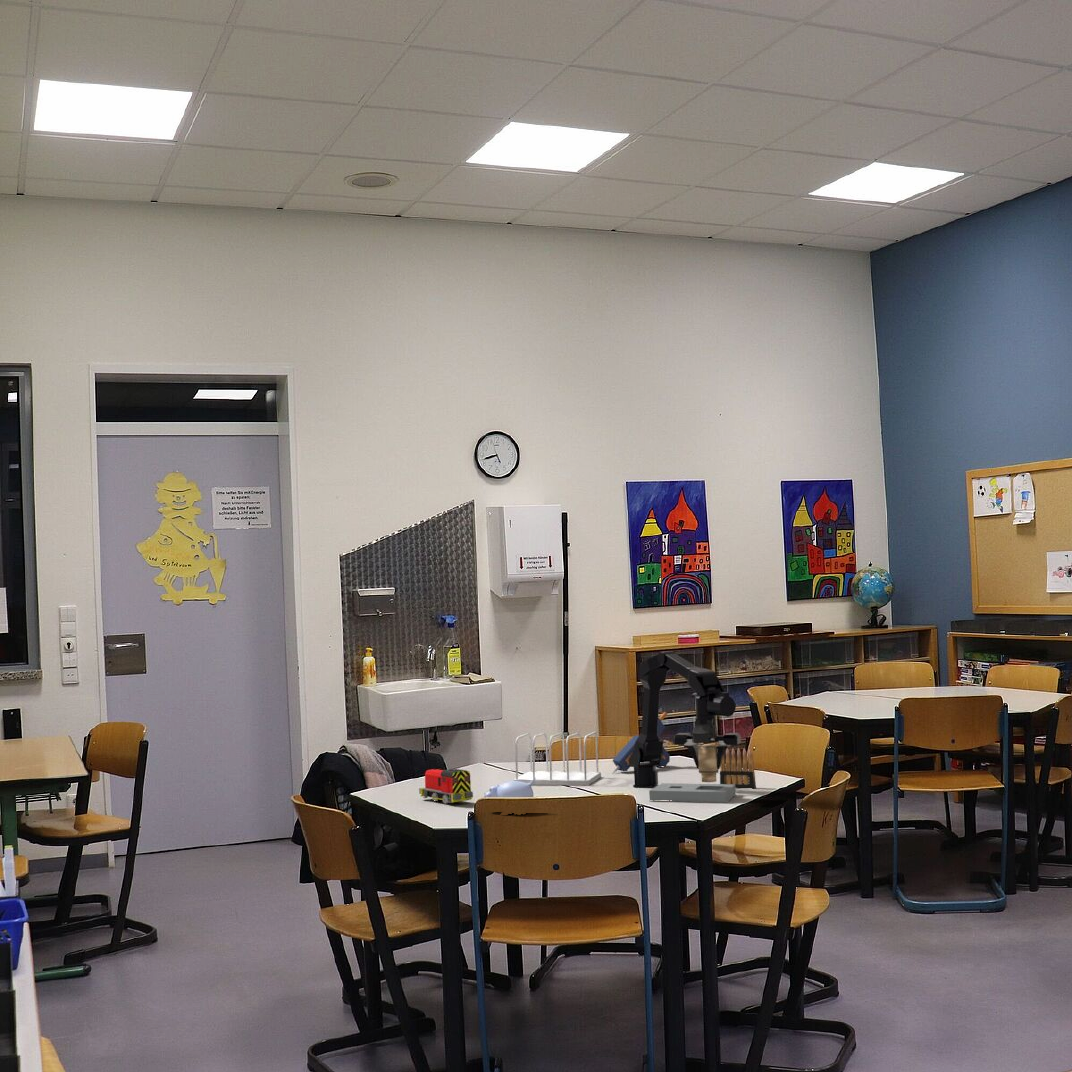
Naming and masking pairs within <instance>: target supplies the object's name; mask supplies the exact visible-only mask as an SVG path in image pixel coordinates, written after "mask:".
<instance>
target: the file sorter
mask: <svg viewBox="0 0 1072 1072" xmlns="http://www.w3.org/2000/svg"><path fill="white" fill-rule="evenodd" d="M543 735H544V738H545V739H544V740H545V743H544V744H545V756H546V757H545V759H546V760H545V762H546V765H545V766H546V771H545V770H544V771H540V770H539V771H538V770H537V771H536V770H535V769H536V768H535V766H536V760H535V759H536V758H535V757H536V756H535V752H536V751H535V750H536V749H535V748H536V747H535V744H536V738H538V737H540V736H543ZM560 735H561V736H562V737H561V738H562V768H563V769H562V771H554V770H552V769H553V767H552V765H553V764H552V763H553V762H552V760H553V759H552V739H553V738H554V737H555V738H556V737H558V736H560ZM592 735H594V736H595V761H596V764H595V765H596V766H595V767H596V771H587V752H586V751H587V748H586V747H587V746H586V745H587V738H589V737H590V736H592ZM526 736H529V761H530V762H529V764H530V767H529V768H530V771H527V772H526V773H523V774H521V775H519V770H518V768H519V766H518V763H519V762H518V761H519V760H518V741H519V739H521V738H523V737H526ZM547 736H548V735H547V733H546V732H541V733H538V734H535V735H534V736H533V739H532V735H531V733H530V732H527V733H524V734H521V735H518V736H517V737H516V739H515V742H514V749H515V750H514V751H515V753H514V755H515V778H514V779H513V780H512V781H520V782H525V783H530V782H531V781H532V780H533V779H534V778H536V779H535V781H534V784H533V785H532V786H587V787H588V786H589V785H591V784H592V783H595V781H597V780H598V779H600V778H602V772H601V771H599V749H598V748H599V747H598V746H599V745H598V744H599V743H598V741H599V740H598V733H597V732H596V731H593V732H590V733H588V734H586V735H585V736H584V738H583V764H582V740H581V739H582V737H581V733H580V732H575V733H573V734H569V735H567V737H566V740H565V734H564V732H561V731H560V732H558V733H555V734H552V735H550V737H549V743H548V737H547ZM574 736H578V744H579V745H578V747H579V748H578V750H579V753H578V754H579V757H578V758H579V771H570V768H569V739H570V738H572V737H574ZM565 741H566V742H565ZM548 747H549V753H548ZM582 765H584V767H583V769H584V770H583V769H582ZM582 770H583V771H582Z"/></svg>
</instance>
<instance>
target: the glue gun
mask: <svg viewBox="0 0 1072 1072" xmlns="http://www.w3.org/2000/svg"><path fill="white" fill-rule="evenodd" d="M667 716H668V713H667V712H666V711H663V713H662V714H661V715H660V716H658V728H657V735H658V737H659V738H660V734H661V733H662V732H663V731H664V730H665V729H666V726H665V725H664V723H663V722H662V721H664V719H665V718H666V717H667ZM638 737H639V735H633V736H632V737H631V738H630V740H629V741H628V742H627V743H626V744H625V745H624V747H623V748H622V749H621V750H620V751H619V752H618V753H617V754H616V755H615V756H614V757H613V759H612V762H613V764H614V765H615V768H614V770H613V772H612V775H613V774H615V773H616V772H617V771H621V772H627V771H628V770H630V768H631V767H630V766H629V762H628V759H629V758H630V756H631V754H632V753H633V751H634V747H635V742H636V740H637V738H638ZM670 757H671V755H670V754H669V753H668V751H667V750H666V748H664V746H663V754H662V756H661V761H660V765H656V766H665V767H666V766H667V765H668V764H669V762H670V760H671V759H670Z"/></svg>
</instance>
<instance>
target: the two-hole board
mask: <svg viewBox="0 0 1072 1072" xmlns="http://www.w3.org/2000/svg"><path fill="white" fill-rule="evenodd" d="M736 791H737V790H736V788H735V784H720V783H677V782H675V783H674V782H673V783H671V782H664V783H663V782H662V783H660V784H658V785H656V786H654V787H652V788H651V789H650V790H649V801H650V800H669V801H670V800H672V801H690V802H689V803H707V804H709V803H712V804H713V803H714V804H715V803H717V804H718V803H719V804H726V803H727V802H729V801H730V800H732V798H734V797H735V796H736ZM733 796H734V797H733Z"/></svg>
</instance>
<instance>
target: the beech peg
mask: <svg viewBox="0 0 1072 1072" xmlns="http://www.w3.org/2000/svg"><path fill="white" fill-rule="evenodd" d="M717 746H718V745H715V744H714V745H713V744H704V745H703V744H702V745H698V764H699V769H698V773H699V774H701V782H702V783H715V782H717V774H719V772H720V769H718V768H717V757H718V749H717Z"/></svg>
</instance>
